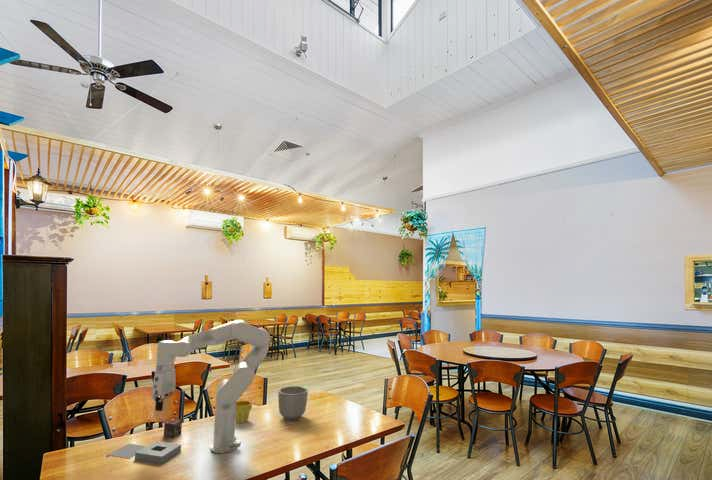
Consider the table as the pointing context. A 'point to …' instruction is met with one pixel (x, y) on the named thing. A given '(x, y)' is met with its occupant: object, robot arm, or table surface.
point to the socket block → (158, 452)
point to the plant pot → (242, 411)
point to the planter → (292, 402)
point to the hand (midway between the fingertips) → (162, 408)
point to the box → (172, 428)
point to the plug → (163, 408)
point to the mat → (126, 451)
